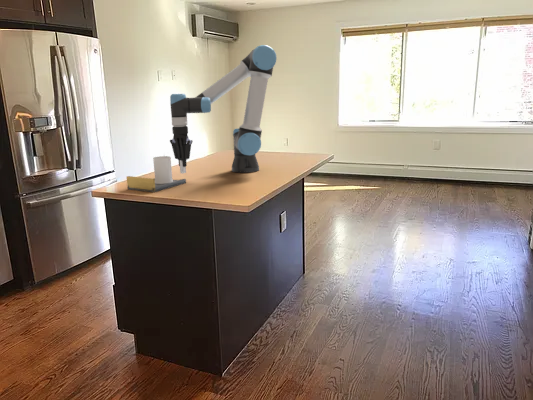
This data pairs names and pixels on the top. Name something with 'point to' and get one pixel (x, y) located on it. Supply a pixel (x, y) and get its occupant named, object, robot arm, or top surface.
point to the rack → (150, 184)
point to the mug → (162, 170)
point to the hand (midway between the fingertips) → (183, 172)
